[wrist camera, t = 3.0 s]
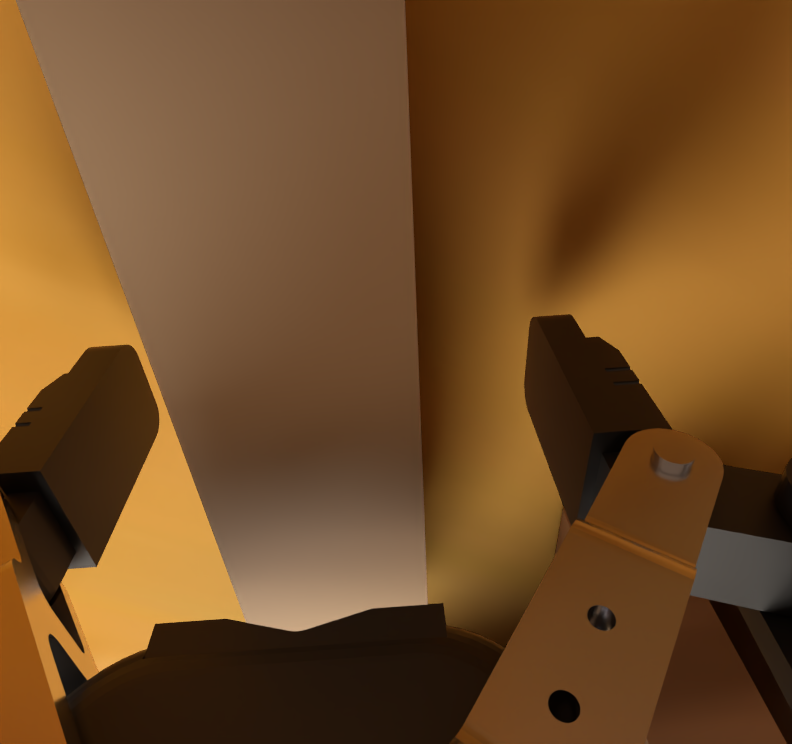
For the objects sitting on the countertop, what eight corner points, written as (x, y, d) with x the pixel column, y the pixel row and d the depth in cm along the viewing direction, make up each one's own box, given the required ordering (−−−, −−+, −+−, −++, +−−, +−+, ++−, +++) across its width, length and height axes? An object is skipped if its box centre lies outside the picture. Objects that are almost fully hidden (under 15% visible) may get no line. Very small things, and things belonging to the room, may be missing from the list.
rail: (193, -57, 9) (-20, -96, 4) (382, -70, 9) (400, -125, 4) (330, 602, 19) (318, 816, 14) (418, 596, 19) (435, 808, 14)
